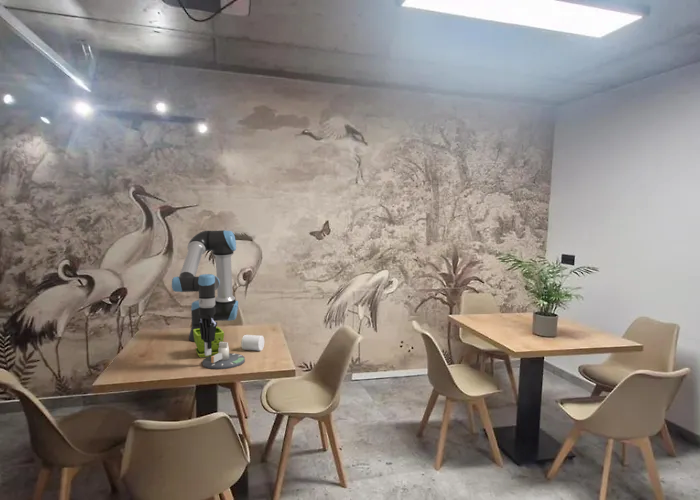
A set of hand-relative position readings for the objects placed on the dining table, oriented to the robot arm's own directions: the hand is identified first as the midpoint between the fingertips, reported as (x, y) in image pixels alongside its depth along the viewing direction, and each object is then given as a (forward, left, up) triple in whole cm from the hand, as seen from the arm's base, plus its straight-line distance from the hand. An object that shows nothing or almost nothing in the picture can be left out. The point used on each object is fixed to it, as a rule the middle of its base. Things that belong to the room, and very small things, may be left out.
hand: (208, 354), depth 213 cm
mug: (-10, +31, -5) cm, 33 cm away
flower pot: (-17, +8, -5) cm, 19 cm away
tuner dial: (+1, +8, -5) cm, 9 cm away
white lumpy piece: (+3, +5, -3) cm, 6 cm away
